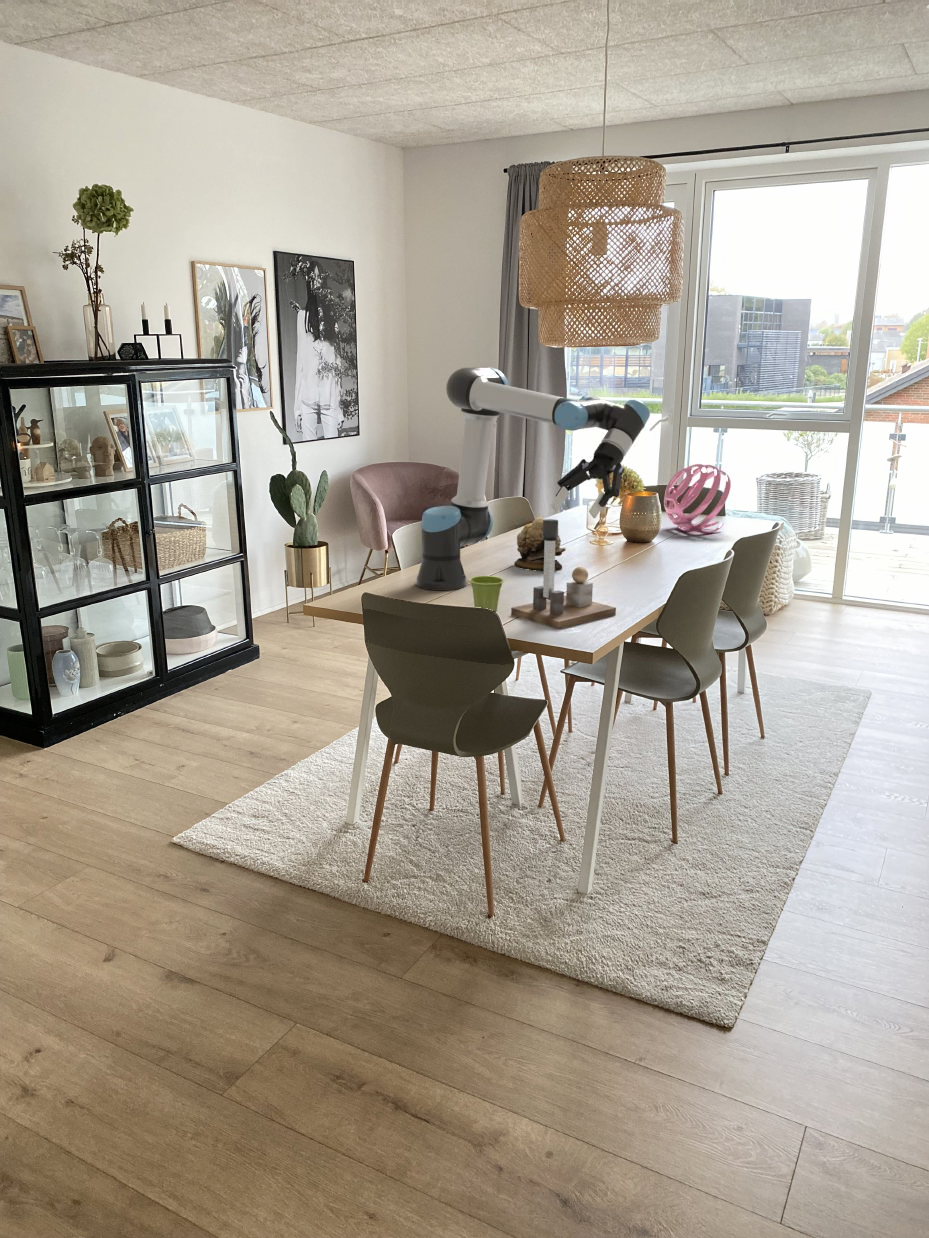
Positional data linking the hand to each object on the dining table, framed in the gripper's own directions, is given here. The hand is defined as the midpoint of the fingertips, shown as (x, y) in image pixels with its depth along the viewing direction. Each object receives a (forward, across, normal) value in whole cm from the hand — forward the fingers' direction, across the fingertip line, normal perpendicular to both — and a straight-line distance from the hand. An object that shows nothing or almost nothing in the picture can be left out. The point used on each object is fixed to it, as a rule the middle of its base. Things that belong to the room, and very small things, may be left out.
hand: (572, 511), depth 248 cm
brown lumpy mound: (-5, +48, -46) cm, 66 cm away
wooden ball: (+11, +1, -18) cm, 21 cm away
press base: (+21, +1, -19) cm, 28 cm away
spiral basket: (-72, +55, -113) cm, 144 cm away
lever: (+21, +1, -11) cm, 23 cm away
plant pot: (+30, +18, -10) cm, 37 cm away
